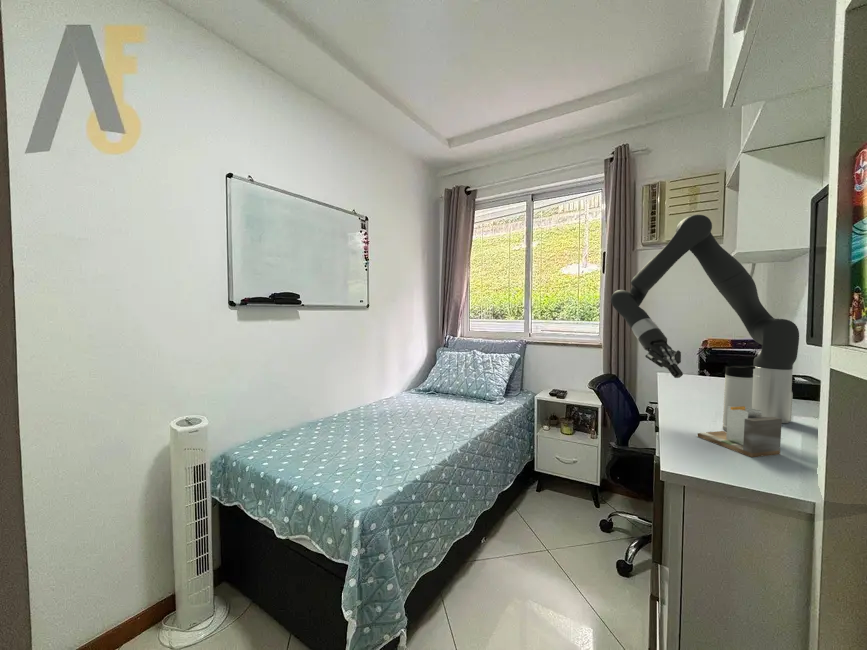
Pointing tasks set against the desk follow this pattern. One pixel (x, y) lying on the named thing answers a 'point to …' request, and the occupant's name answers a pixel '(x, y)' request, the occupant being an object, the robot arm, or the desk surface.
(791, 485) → the desk surface
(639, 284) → the robot arm
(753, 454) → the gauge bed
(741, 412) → the white card box
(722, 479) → the desk surface
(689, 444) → the desk surface
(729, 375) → the travel mug
